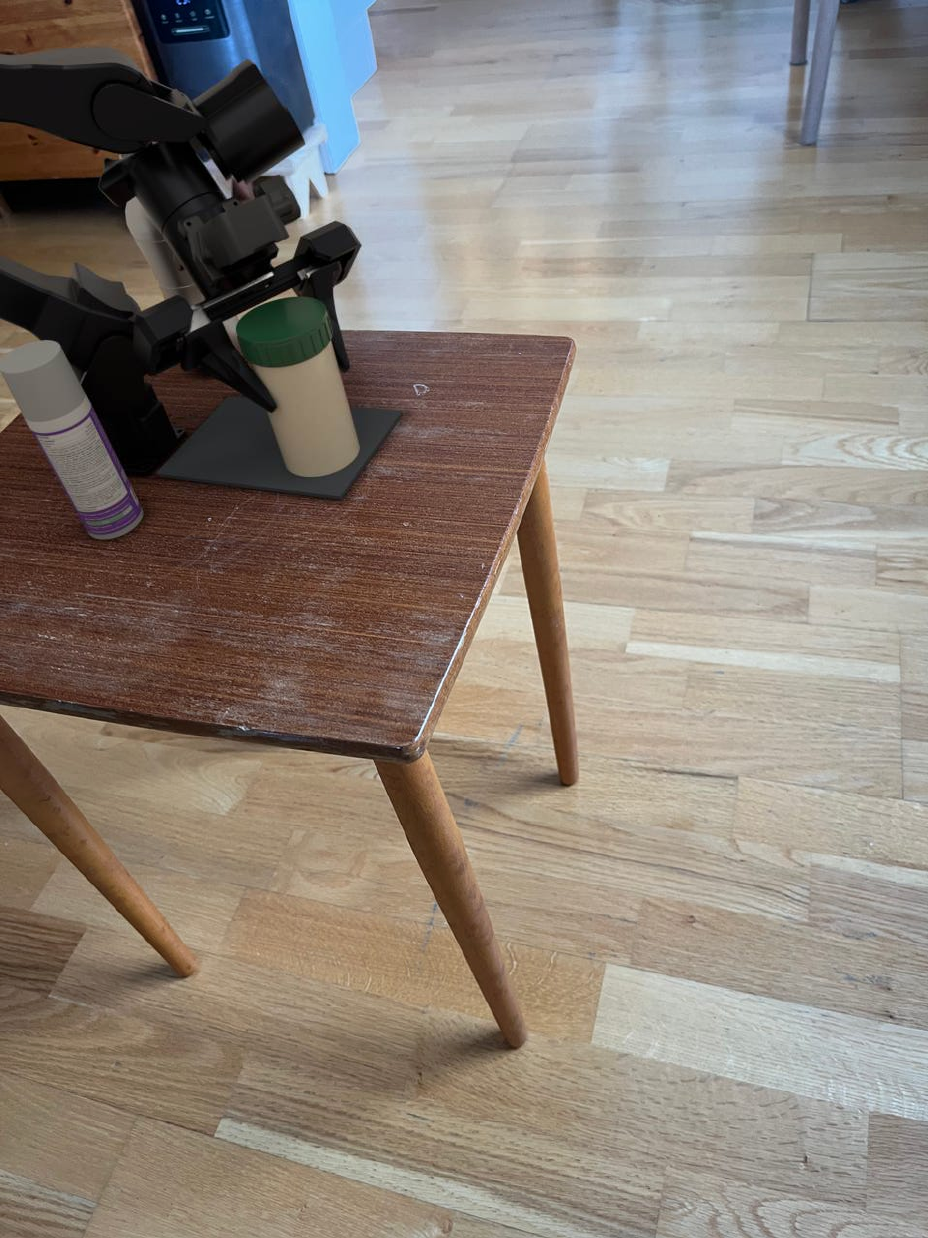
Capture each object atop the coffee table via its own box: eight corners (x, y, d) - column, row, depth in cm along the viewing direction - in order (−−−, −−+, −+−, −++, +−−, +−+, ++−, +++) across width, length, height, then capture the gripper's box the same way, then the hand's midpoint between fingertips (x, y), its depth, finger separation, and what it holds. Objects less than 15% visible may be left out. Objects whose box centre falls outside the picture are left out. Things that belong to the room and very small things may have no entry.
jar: (270, 473, 78) (224, 343, 70) (306, 428, 82) (266, 300, 74) (339, 481, 76) (299, 347, 68) (372, 435, 80) (338, 304, 72)
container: (97, 506, 80) (10, 343, 69) (150, 500, 79) (70, 335, 69) (79, 542, 76) (-15, 377, 66) (134, 536, 76) (48, 369, 65)
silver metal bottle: (238, 378, 91) (160, 162, 77) (175, 380, 93) (87, 169, 79) (261, 344, 96) (191, 133, 82) (200, 346, 97) (121, 140, 84)
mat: (157, 476, 81) (155, 473, 81) (229, 399, 89) (228, 395, 89) (341, 500, 75) (340, 496, 75) (403, 414, 82) (402, 410, 82)
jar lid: (226, 364, 71) (217, 340, 70) (271, 317, 75) (263, 294, 74) (306, 370, 69) (299, 345, 67) (348, 322, 73) (342, 297, 72)
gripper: (82, 202, 62) (220, 405, 63) (316, 106, 69) (437, 290, 70) (85, 286, 72) (204, 460, 73) (288, 196, 79) (394, 355, 80)
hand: (311, 389), depth 74 cm, fingers open, 7 cm apart
